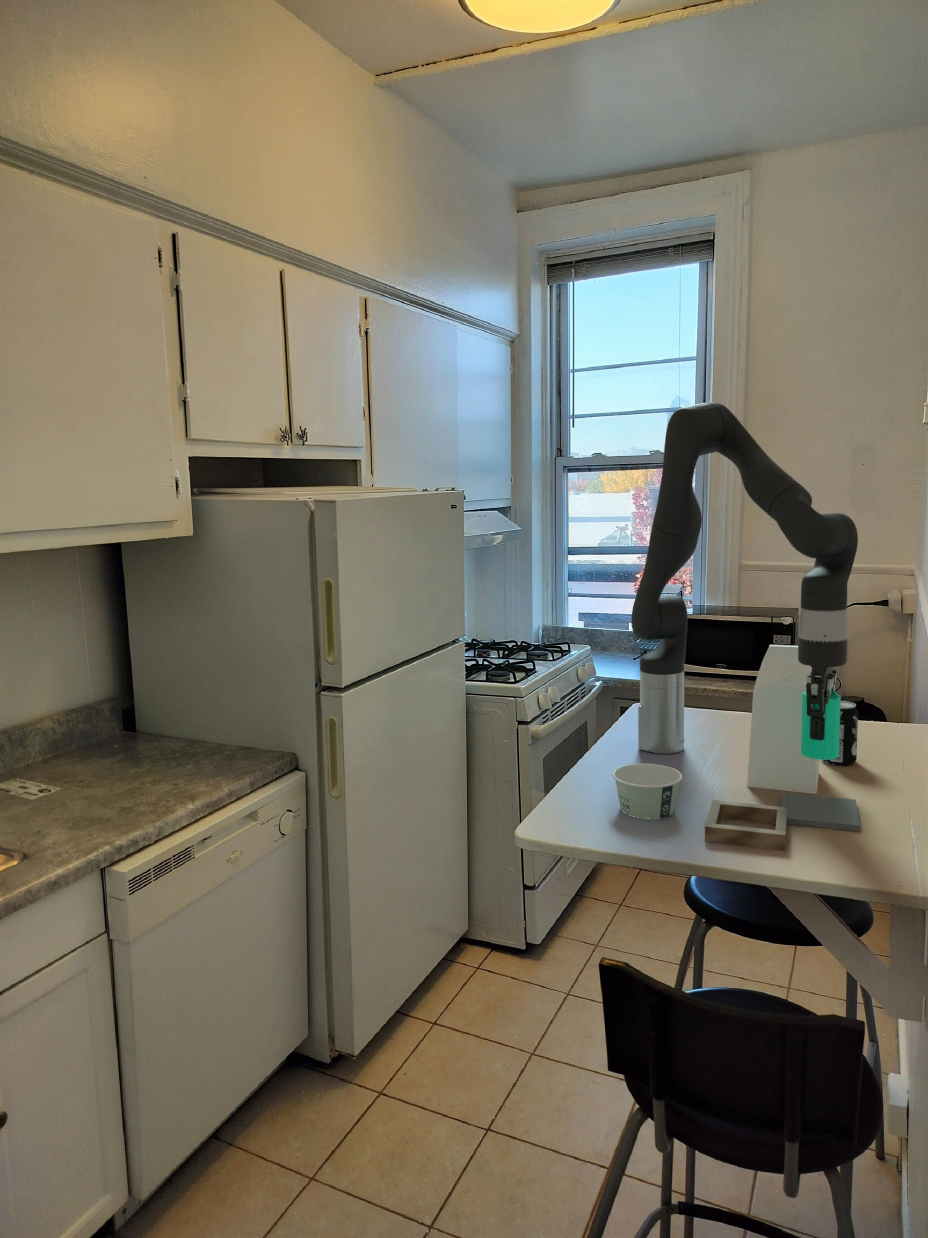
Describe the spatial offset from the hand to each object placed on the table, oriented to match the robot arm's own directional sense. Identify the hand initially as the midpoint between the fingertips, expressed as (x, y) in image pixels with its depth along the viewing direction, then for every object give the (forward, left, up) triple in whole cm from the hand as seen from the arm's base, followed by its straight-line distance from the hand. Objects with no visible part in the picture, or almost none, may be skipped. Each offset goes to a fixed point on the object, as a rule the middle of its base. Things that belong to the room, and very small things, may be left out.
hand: (820, 734), depth 142 cm
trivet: (0, 0, -14) cm, 14 cm away
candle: (0, 0, -4) cm, 4 cm away
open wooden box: (-11, -11, -14) cm, 21 cm away
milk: (-6, +16, -14) cm, 22 cm away
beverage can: (+4, +30, -14) cm, 33 cm away
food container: (-28, -6, -14) cm, 32 cm away
